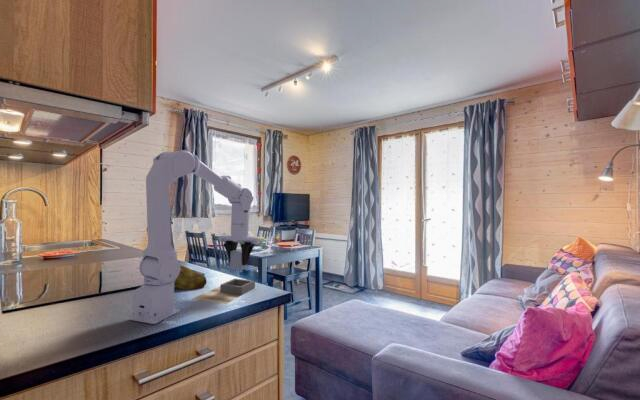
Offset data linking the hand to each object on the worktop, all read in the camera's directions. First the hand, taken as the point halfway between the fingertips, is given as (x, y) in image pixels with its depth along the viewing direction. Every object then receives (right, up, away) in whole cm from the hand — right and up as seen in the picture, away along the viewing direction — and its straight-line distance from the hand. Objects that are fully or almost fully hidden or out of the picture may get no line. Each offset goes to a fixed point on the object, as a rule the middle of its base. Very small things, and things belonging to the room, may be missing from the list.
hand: (238, 264), depth 107 cm
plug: (0, -2, 0) cm, 2 cm away
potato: (-19, -9, +1) cm, 21 cm away
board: (-3, -9, -3) cm, 10 cm away
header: (0, -9, 0) cm, 9 cm away
